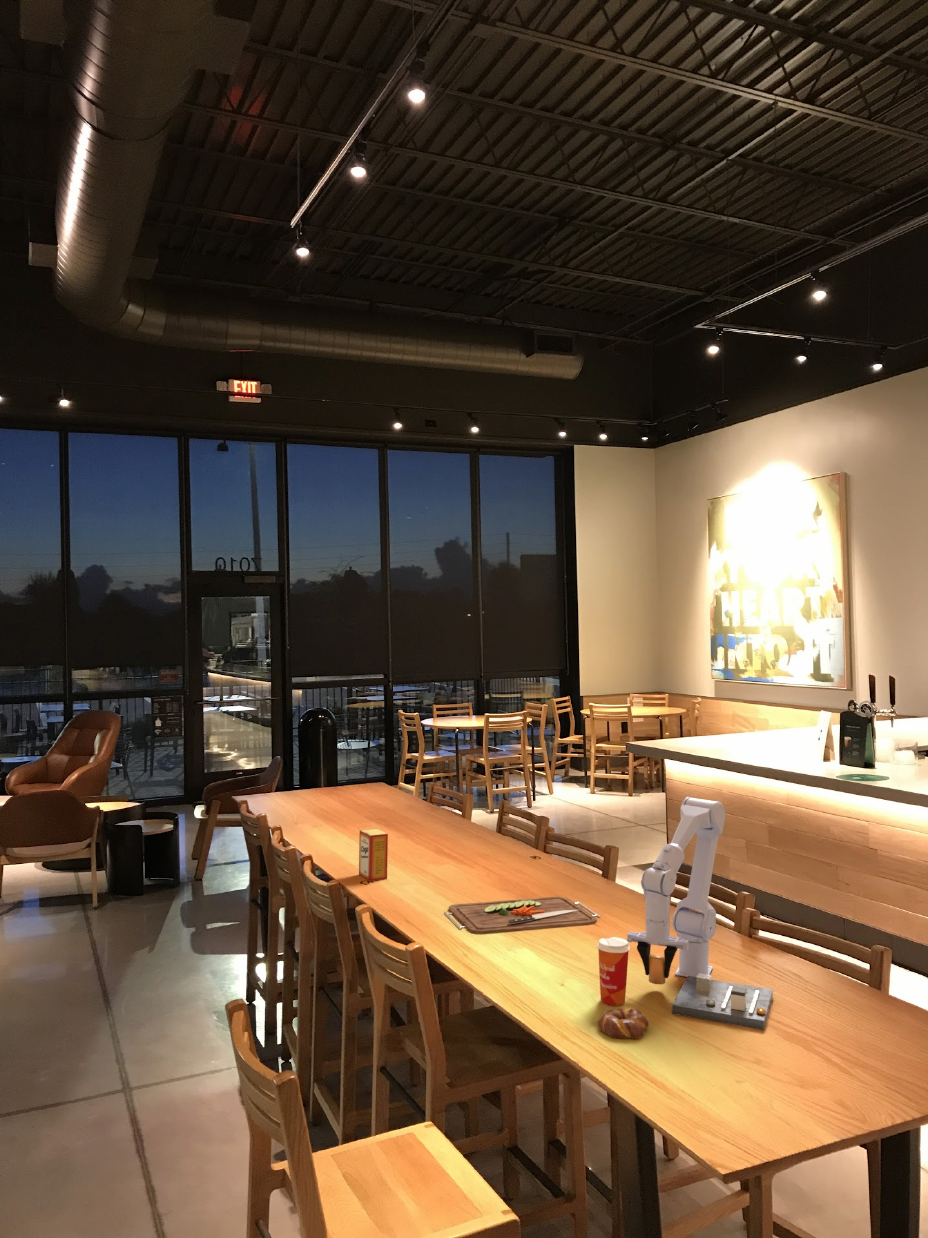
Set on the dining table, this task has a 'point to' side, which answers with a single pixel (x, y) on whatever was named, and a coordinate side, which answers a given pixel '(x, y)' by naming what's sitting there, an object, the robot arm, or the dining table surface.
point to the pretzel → (623, 1023)
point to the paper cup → (613, 970)
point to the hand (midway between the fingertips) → (657, 975)
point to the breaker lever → (738, 998)
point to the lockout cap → (656, 968)
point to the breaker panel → (722, 1002)
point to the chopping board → (520, 915)
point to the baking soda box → (373, 854)
